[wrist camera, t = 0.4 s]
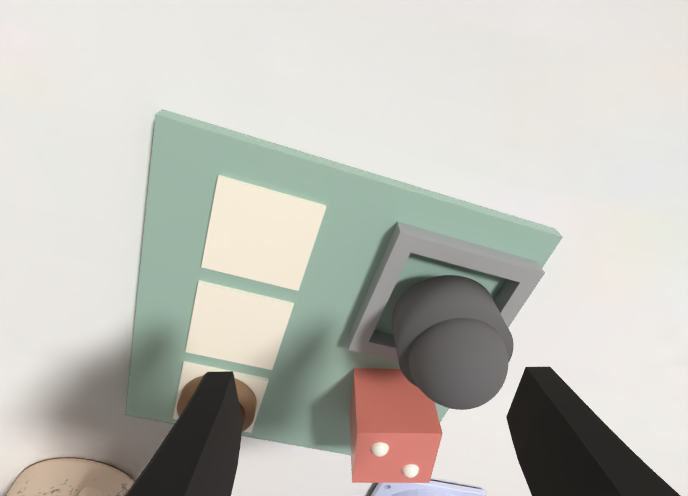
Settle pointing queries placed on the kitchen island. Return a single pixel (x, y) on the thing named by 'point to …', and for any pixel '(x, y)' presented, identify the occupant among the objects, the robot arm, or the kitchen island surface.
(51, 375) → the kitchen island surface
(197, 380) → the flanged wooden peg
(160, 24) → the kitchen island surface
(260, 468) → the kitchen island surface
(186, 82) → the kitchen island surface
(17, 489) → the teacup with lid
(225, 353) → the board
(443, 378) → the dark gray round knob
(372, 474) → the die
